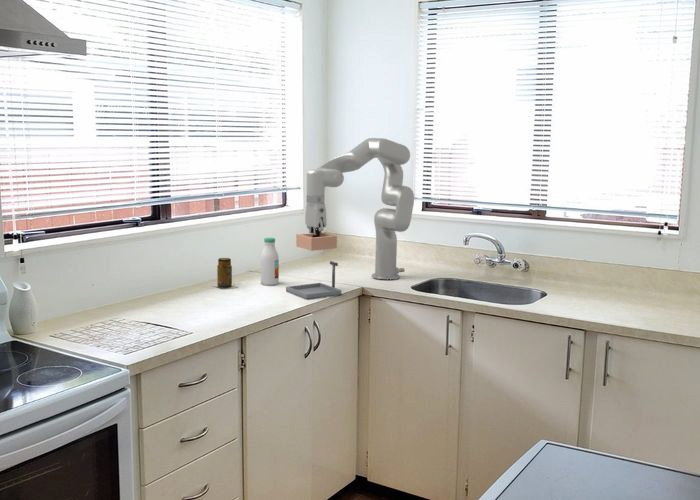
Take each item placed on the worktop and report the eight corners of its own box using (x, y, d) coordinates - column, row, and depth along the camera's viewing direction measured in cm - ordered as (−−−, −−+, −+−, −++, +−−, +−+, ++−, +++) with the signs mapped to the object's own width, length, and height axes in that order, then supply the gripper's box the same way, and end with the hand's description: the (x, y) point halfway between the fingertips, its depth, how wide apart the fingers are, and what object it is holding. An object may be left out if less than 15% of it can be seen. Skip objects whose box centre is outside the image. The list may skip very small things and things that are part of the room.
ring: (321, 244, 320) (321, 232, 319) (336, 248, 310) (336, 236, 309) (296, 246, 313) (296, 234, 312) (311, 250, 303) (311, 238, 302)
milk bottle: (270, 286, 325) (270, 240, 322) (257, 283, 329) (256, 238, 326) (282, 283, 331) (282, 238, 328) (269, 281, 336) (269, 236, 332)
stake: (331, 286, 326) (331, 261, 324) (337, 289, 322) (338, 263, 320) (329, 287, 325) (329, 261, 324) (335, 289, 321) (335, 263, 319)
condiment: (227, 284, 328) (227, 256, 326) (238, 287, 322) (237, 259, 320) (212, 286, 324) (212, 258, 322) (222, 289, 317) (222, 261, 315)
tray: (320, 287, 325) (320, 282, 325) (341, 294, 311) (341, 290, 311) (285, 291, 316) (285, 286, 315) (306, 299, 302) (306, 294, 302)
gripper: (333, 201, 310) (332, 245, 313) (313, 197, 323) (312, 240, 325) (317, 201, 306) (316, 247, 309) (298, 198, 318) (297, 241, 321)
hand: (314, 243), depth 317 cm, fingers closed on ring, 1 cm apart
